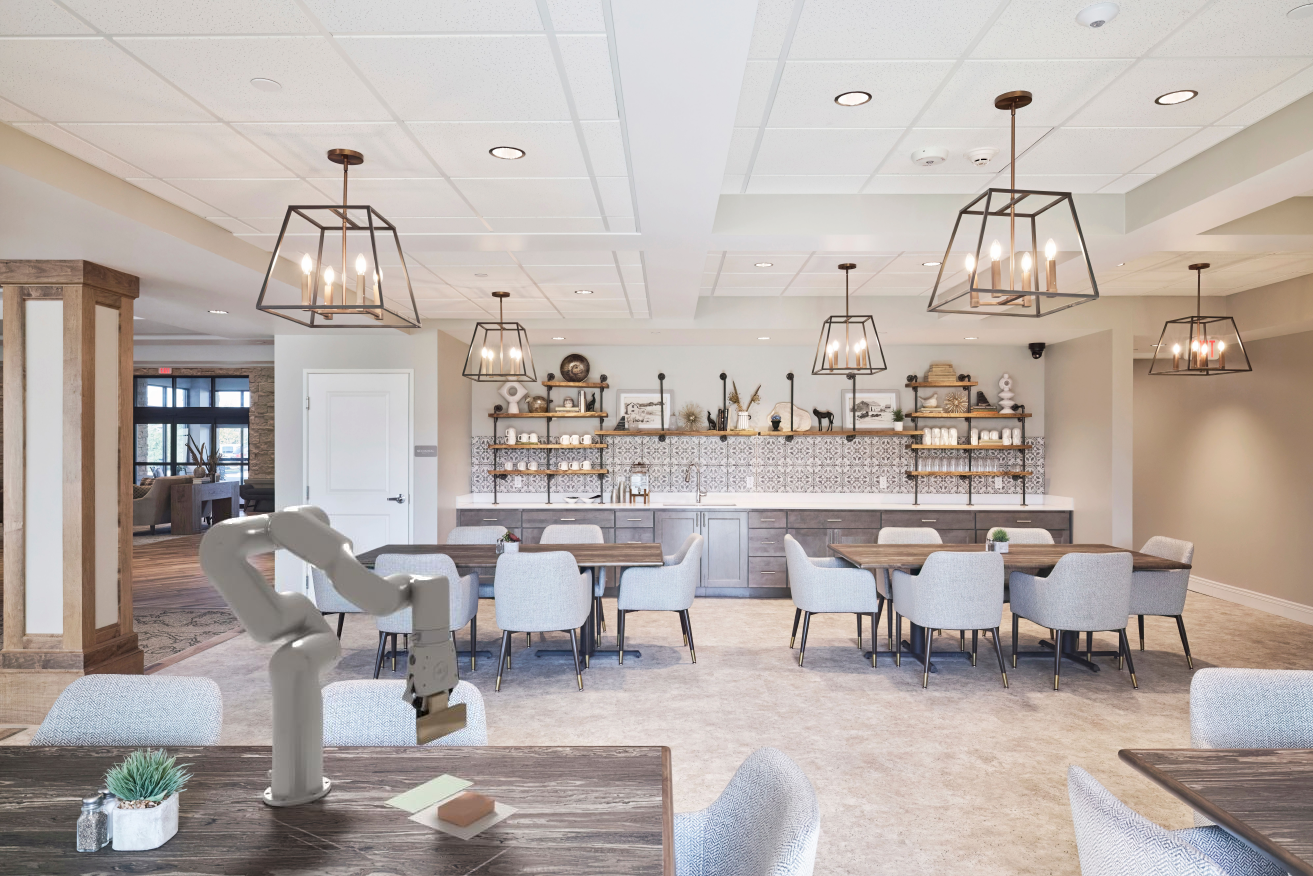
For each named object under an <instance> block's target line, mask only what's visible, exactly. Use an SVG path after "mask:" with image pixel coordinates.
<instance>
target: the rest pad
mask: <svg viewBox="0 0 1313 876" xmlns="http://www.w3.org/2000/svg"><path fill="white" fill-rule="evenodd" d="M474 784H475V782H472V781H470V780H466V779H463V778H459V777H456V776H453V775H450V774H447V773H445V774H442V775H440V776H438V777H435V778H433V779H431V780H430V781H427V782H425V783H422V784H421V785H418V786H416V787H414V788H412V789H410V790H407V791H405V792H403V793H401V794H399V795H397V796H395V797H392V798H390V799H387V800H386V801H383V803H384V804H386V805H389V806H391V807H395V808H397V809H401V810H403V811H405V812H407V813H411V814H413V815H414V814H416V813H418V812H420V811H423V810H425V809H427V808H429V807H431V806H433V805H435V804H437V803H439V802H441V801H443V800H445V799H447V798H449V797H451V796H453V795H455V794H457V793H459V792H461V791H464V789H467V788H469V787H471V786H473V785H474Z"/></svg>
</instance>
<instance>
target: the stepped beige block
mask: <svg viewBox="0 0 1313 876" xmlns="http://www.w3.org/2000/svg"><path fill="white" fill-rule="evenodd" d="M421 699H422V697H420V701H421ZM426 709H428V710H429V715H426V716H423V717H421V718H418V719H417V727H416V726H415V734H416V746H417V745H418V746H424V745H426V744H429V743H431V742H434V741H436V740H438V739H442V738H443V737H447V736H448V735H451V734H454V733H455V732H456V733H457V732H458V731H461V730H463V729H466V728H467V724H468V723H467V722H468V720H467V719H468V718H467V714H468V713H467V702H463V701H462V702H459V703H456V704H454V705H452V706H449V702H448V693H446V692H442V691H441V692H438V693H435V694H432V695H429V696H428V701H427V708H426Z"/></svg>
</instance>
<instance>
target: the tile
mask: <svg viewBox="0 0 1313 876" xmlns="http://www.w3.org/2000/svg"><path fill="white" fill-rule="evenodd" d="M466 792H467V793H465V794H463V795H461V796H459V797H457V798H455V799H453V800H451V801H449V802H447V803H445V804H443V805H441V806H439V807H438V818H440V819H443V820H446V821H448V822H451V823H454V824H457V825H460V826H462V827H464V826H466V825H468V824H470V823H472V822H474V821H475V820H477V819H479V818H481V817H483V816H484V815H486V814H488V813H490V812H492V811H494V810H495V802H496V800H495V799H494V798H491V797H488V796H484V795H481V794H479V793H476V792H472V791H466Z"/></svg>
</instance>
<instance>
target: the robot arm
mask: <svg viewBox="0 0 1313 876" xmlns="http://www.w3.org/2000/svg"><path fill="white" fill-rule="evenodd" d="M198 549H199V550H198V560H199V561H198V562H199V565H200V568H201V570H202V572H203V574H204V575H205V578H206V579H207V580H208V582H209V583H210V584H211V586H212V587H213V588H214V589H215V590H216V591H217V592H218V594H219V595H220V596H221V597H222V598H223V600H224V602H225V603H226V604H227V607H228V608H229V609H230V611H231V612H232V613H233V615H234V616H235V617H236V619H237V620H238V621H239V624H241V626H242V627H243V629H244V630H245V631H246V633H247V634H248V635H249V637H250V638H251V639H252V640H253V641H255V642H256V643H258V644H261V645H268V644H269V645H270V644H273V643H276V642H278V641H281V640H283V639H284V640H285V641H286V642H285V643H284V644H282V645H281V646H279V648H278V649H276V650H275V652H274V653H273V655H272V656H271V658H270V660H269V662H268V668H267V669H268V671H267V672H268V680H269V685H270V691H271V700H272V701H271V703H272V707H271V708H272V719H271V720H272V746H271V747H272V749H271V750H272V751H271V752H272V753H271V755H272V758H271V759H272V762H271V763H272V765H271V768H272V769H269V770H268V771H267V772H266V777H268V778H270V779H271V781H270V782H271V783H270V784H271V785H270V786H268V788H266V789H265V791H264V792H263V794H262V795H263V796H262V797H263V798H262V800H263V801H264V803H265V804H268V805H269V806H274V807H292V806H300V805H304V804H308V803H311V802H314V801H316V800H318V799H320V798H322V797H324V796H325V795H327V794H328V793H329V792H330V791H331V789H332V788H331V787H332V781H331V779H330V778H328V777H326V776H324V696H323V693H322V690H321V686H320V682H319V678H320V677H322V676H323V675H325V674H327V673H328V672H330V671H331V670H333V669H334V668H335V667H336V666H337V665H338V664H339V662H340V660H341V658H342V653H343V651H342V650H343V649H342V643H341V641H340V638H339V637H338V635H337V634H336V632H335V631H334V629H333V628H332V627H331V625H330V624H329V622H328V621H327V620H326V618H325V617H324V616H323V614H322V613H321V612H320V611H319V609H318V608H317V606H316V604H314V602H313V601H312V600H311V599H310V598H309V597H307V595H304V594H303V593H301V592H298V591H295V590H294V591H293V590H287V591H282V592H277V591H276V589H274V588H273V587H272V585H271V584H270V582H269V581H268V579H267V578H266V576H265V575H264V573H262V572H261V571H260V570H259V569H258V568H257V567H255V566H254V565H252V563H250V562H249V561H248V560H247V557H251V556H252V557H253V556H256V555H261V554H265V553H266V554H267V553H271V552H275V551H280V550H286V551H288V552H289V553H291V554H292V555H294V556H295V557H298V558H299V559H301V560H302V561H304V562H305V563H307V564H308V565H310V566H311V567H313V568H314V569H316V570H318V571H319V572H320V573H322V574H323V575H324V576H325V578H326V579H327V581H328V583H330V585H331V586H332V588H333V589H334V590H335V592H337V593H338V594H339V595H340V596H341V598H343V599H345V600H346V601H347V602H349V603H350V604H352V605H354V606H355V607H357V608H359V609H360V610H362V611H363V612H365V613H367V614H368V615H371V616H374V617H377V618H387V617H389V616H392V615H394V614H396V613H398V612H400V611H403V610H406V609H408V608H411V634H410V635H409V636H408V640H409V642H411V644H410V645H409V649H408V650H409V651H408V655H407V656H408V657H407V663H406V676H405V677H406V681H405V682H406V683H405V684H406V688H405V691H404V693H403V694H402V697H401V700H402V701H404V702H406V703H408V704H409V705H411V707H413V709H414V710H415V728H416V727H417V719H418V718H421V717H423V716H426V715H429V710H428V709H426V708H427V701H428V696H429V695H432V694H435V693H438V692H441V691H442V692H446V693H448V703H449V702H450V700H451V699H450V697H451V695H452V693H453V692H454V689H456V687H457V686H458V685H459V683H460V681H459V677H458V674H459V673H458V661H457V652H456V647H455V643H454V640H453V638H451V623H450V621H451V620H450V618H451V615H450V614H451V612H450V611H451V609H450V603H451V602H450V600H451V599H450V595H451V594H450V592H451V591H450V588H451V587H450V580H449V577H447V576H446V575H444V574H436V573H435V574H423V575H419V574H411V573H405V572H404V573H403V572H400V573H399V572H397V573H394V574H390V575H388V576H385V577H381V576H379V575H378V574H377V573H375V572H373V571H371V570H370V569H368V568H367V567H366V566H365V565H363V564H362V563H361V562H360V561H359V560H358V558H356V556H355V553H354V543H353V541H352V540H351V539H350V538H349V537H348V536H345V535H344V534H343V533H341V532H340V531H338V530H336V529H334V528H333V527H331V521H330V518H329V515H328V514H327V513H326V511H325V510H324V509H322V508H320V507H318V506H316V505H313V504H312V505H311V504H310V505H309V504H305V505H304V504H303V505H296V506H288V507H284V508H282V509H280V510H278V511H276V512H275V511H274V512H269V513H263V514H258V515H251V516H250V515H249V516H241V517H232V518H227V519H224V520H221V521H219V522H217V523H215V524H214V525H212V526H211V527H209V528H208V529H207V531H206V532H205V533H204V534H203V537H202V539H201V541H200V544H199V548H198ZM420 697H422V699H421V701H420Z"/></svg>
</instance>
